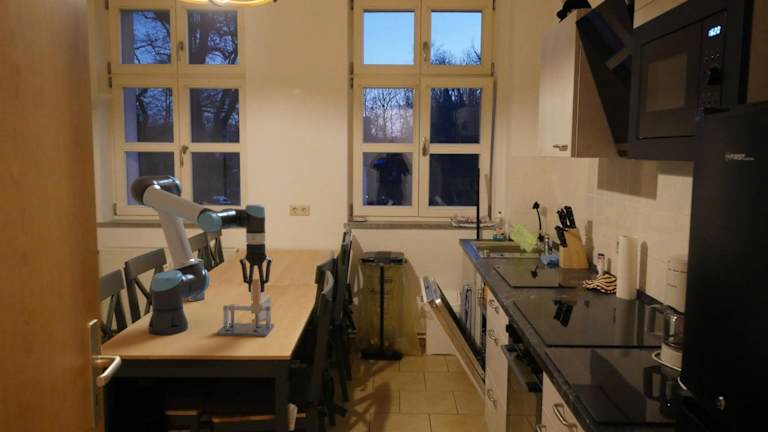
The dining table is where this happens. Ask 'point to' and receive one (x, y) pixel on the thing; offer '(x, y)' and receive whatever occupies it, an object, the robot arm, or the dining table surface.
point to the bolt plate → (245, 330)
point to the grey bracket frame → (244, 308)
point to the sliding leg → (256, 301)
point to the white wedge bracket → (265, 302)
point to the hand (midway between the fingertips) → (256, 299)
